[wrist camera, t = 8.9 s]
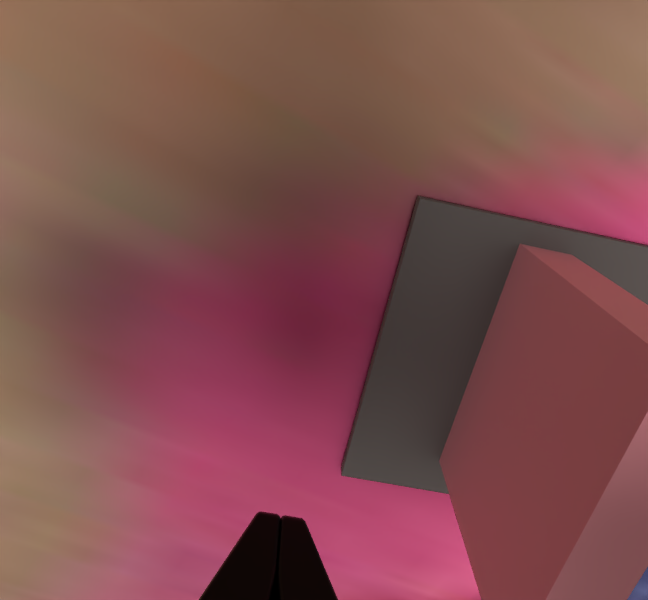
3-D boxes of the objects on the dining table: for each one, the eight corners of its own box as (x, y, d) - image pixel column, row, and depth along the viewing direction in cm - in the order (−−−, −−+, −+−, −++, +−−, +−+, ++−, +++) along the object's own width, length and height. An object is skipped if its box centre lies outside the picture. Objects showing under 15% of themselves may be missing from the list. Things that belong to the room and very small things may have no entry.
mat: (650, 521, 19) (656, 529, 19) (341, 467, 18) (341, 475, 18) (797, 277, 15) (808, 282, 15) (417, 195, 15) (420, 198, 14)
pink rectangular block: (482, 468, 18) (572, 685, 11) (439, 461, 18) (504, 675, 11) (571, 254, 15) (763, 381, 8) (519, 243, 15) (673, 363, 8)
